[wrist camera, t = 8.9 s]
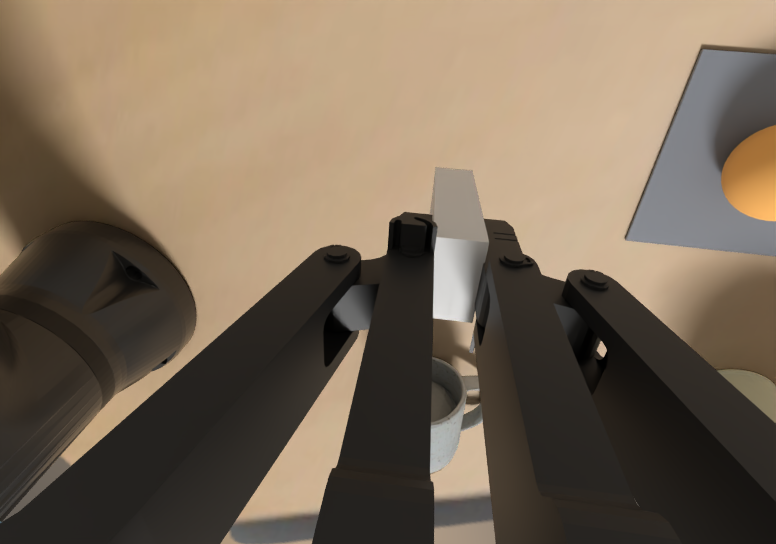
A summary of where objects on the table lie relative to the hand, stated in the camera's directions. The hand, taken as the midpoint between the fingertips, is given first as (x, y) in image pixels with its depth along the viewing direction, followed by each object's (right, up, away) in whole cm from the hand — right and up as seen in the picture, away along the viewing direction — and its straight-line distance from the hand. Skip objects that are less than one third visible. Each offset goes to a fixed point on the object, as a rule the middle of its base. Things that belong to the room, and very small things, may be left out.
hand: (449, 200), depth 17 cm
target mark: (+21, +4, +9) cm, 23 cm away
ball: (+20, +3, +6) cm, 21 cm away
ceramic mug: (+2, -14, +22) cm, 26 cm away
